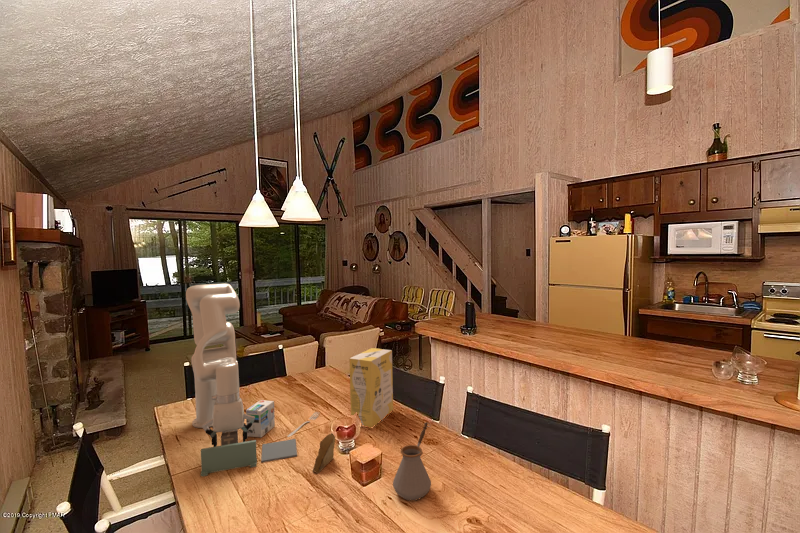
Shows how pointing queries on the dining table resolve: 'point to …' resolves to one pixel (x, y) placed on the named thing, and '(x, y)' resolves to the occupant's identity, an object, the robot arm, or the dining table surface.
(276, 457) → the mat
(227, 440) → the lettered block
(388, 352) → the pasta box
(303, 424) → the fork
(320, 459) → the rock
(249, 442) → the green panel with feet
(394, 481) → the coffee pot
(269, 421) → the light bulb box
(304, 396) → the dining table surface
